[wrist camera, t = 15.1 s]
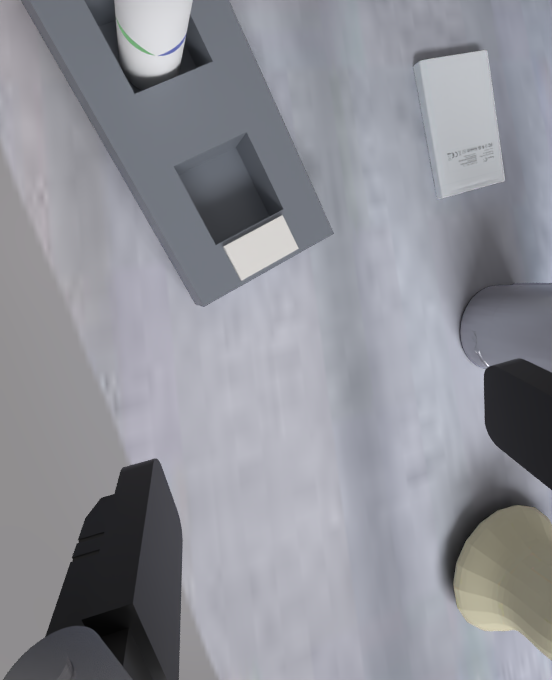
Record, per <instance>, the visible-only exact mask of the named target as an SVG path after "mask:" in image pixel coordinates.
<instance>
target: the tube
mask: <svg viewBox="0 0 552 680" xmlns="http://www.w3.org/2000/svg"><path fill="white" fill-rule="evenodd" d="M192 2H193V0H114V3H115V16H116V28H117V40H118V52H119V61H120V66H121V68H122V71H123V73H124V74H125V76H126V78H127V79H128V80H129V81H130V82H131V83H132V84H133V85H134V86H135V87H137V88H139V89H140V90H142V91H143V90H146V89H148V88H150V87H153V86H155V85H157V84H160V83H162V82H165V81H167V80H169V79H172V78H174V77H177V76H178V74H179V69H180V64H181V59H182V54H183V49H184V43H185V38H186V33H187V28H188V23H189V18H190V12H191V7H192Z"/></svg>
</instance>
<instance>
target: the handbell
mask: <svg viewBox="0 0 552 680" xmlns="http://www.w3.org/2000/svg"><path fill="white" fill-rule="evenodd" d="M453 586H454V592H455V598H456V604H457V607H458V609H459V610H460V612H461V613H462V615H463V617H464V618H465V620H466V621H467V622H468V623H470V624H472V625H474V626H476V627H477V628H479V629H481V630H484V631H509V630H516V631H519V632H520V633H521V634H523V635H524V636H525V637H526V638H527V639H528V640H529V641H530V642H531V643H532V644H533V645H534V646H535V647H537V648H538V649H539V650H540V651H541V652H542V653H543V654H544V655H545V656H547V657H548V658H549V659H550V660H552V524H551V522H550V520H549V519H548V518H547V517H546V516H545V515H544V514H542V513H541V512H540V511H538V510H537V509H536V508H535V507H528V506H521V505H514V506H511V507H507V508H504V509H501V510H497V511H496V512H495V513H493V514H492V515H490V516H489V517H488V518H486V519H485V520H484V521H482V522H481V523H480V524H479V525H478V526H477V528H476V529H475V530H474V531H473V533H472V534H471V535H470V536H469V538H468V539H467V540H466V542H465V544H464V546H463V549H462V551H461V553H460V556H459V558H458V560H457V562H456V569H455V575H454V582H453Z"/></svg>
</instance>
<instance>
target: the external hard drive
mask: <svg viewBox="0 0 552 680" xmlns="http://www.w3.org/2000/svg"><path fill="white" fill-rule="evenodd" d="M413 70H414V75H415V81H416V86H417V92H418V97H419V103H420V108H421V114H422V119H423V125H424V130H425V136H426V141H427V147H428V153H429V158H430V164H431V169H432V175H433V180H434V186H435V192H436V197H437V200H439V199H443V198H446V197H450V196H453V195H457V194H460V193H464V192H468V191H471V190H475V189H479V188H482V187H486V186H489V185H493V184H497V183H501V182H504V181H505V175H504V169H503V161H502V153H501V146H500V139H499V131H498V124H497V116H496V109H495V102H494V94H493V87H492V80H491V73H490V66H489V59H488V51H487V50H481V51H475V52H468V53H462V54H456V55H449V56H443V57H437V58H431V59H425V60H420V61H419V62H418V63H416V64H415V65H413Z"/></svg>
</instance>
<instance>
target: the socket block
mask: <svg viewBox="0 0 552 680" xmlns="http://www.w3.org/2000/svg"><path fill="white" fill-rule="evenodd" d="M21 1H22V3H23V5H24V6H25V8H26V10H27V12H28V13H29V15H30V17H31V19H32V20H33V22H34V24H35V26H36V27H37V29H38V31H39V33H40V34H41V36H42V38H43V40H44V41H45V43H46V45H47V46H48V48H49V50H50V52H51V53H52V55H53V57H54V59H55V60H56V62H57V64H58V66H59V67H60V69H61V71H62V73H63V74H64V76H65V78H66V80H67V81H68V83H69V85H70V87H71V88H72V90H73V92H74V93H75V95H76V97H77V99H78V100H79V102H80V104H81V106H82V107H83V109H84V111H85V113H86V114H87V116H88V118H89V120H90V121H91V123H92V125H93V127H94V128H95V130H96V132H97V133H98V135H99V137H100V139H101V140H102V142H103V144H104V146H105V147H106V149H107V151H108V153H109V154H110V156H111V158H112V160H113V161H114V163H115V165H116V167H117V168H118V170H119V172H120V174H121V175H122V177H123V179H124V180H125V182H126V184H127V186H128V187H129V189H130V191H131V193H132V194H133V196H134V198H135V200H136V201H137V203H138V205H139V207H140V208H141V210H142V212H143V214H144V215H145V217H146V219H147V220H148V222H149V224H150V226H151V227H152V229H153V231H154V233H155V234H156V236H157V238H158V240H159V241H160V243H161V245H162V247H163V248H164V250H165V252H166V254H167V255H168V257H169V259H170V261H171V262H172V264H173V266H174V267H175V269H176V271H177V273H178V274H179V276H180V278H181V280H182V281H183V283H184V285H185V287H186V288H187V290H188V292H189V294H190V295H191V297H192V299H193V301H194V302H195V304H196V305H200V306H203V307H204V306H206V305H208V304H210V303H212V302H213V301H215V300H217V299H219V298H220V297H222V296H224V295H226V294H227V293H229V292H231V291H233V290H235V289H236V288H238V287H240V286H242V285H243V284H245V283H247V282H249V281H251V280H252V279H254V278H256V277H258V276H259V275H261V274H263V273H265V272H267V271H268V270H270V269H272V268H274V267H275V266H277V265H279V264H281V263H282V262H284V261H286V260H288V259H290V258H291V257H293V256H295V255H297V254H298V253H300V252H302V251H304V250H306V249H307V248H309V247H311V246H313V245H314V244H316V243H318V242H320V241H322V240H323V239H325V238H327V237H329V236H330V235H332V234H334V232H333V230H332V228H331V226H330V224H329V221H328V219H327V217H326V215H325V213H324V210H323V208H322V206H321V204H320V201H319V199H318V197H317V195H316V193H315V190H314V188H313V186H312V184H311V182H310V179H309V177H308V175H307V173H306V170H305V168H304V166H303V164H302V162H301V159H300V157H299V155H298V153H297V150H296V148H295V146H294V144H293V142H292V139H291V137H290V135H289V133H288V131H287V128H286V126H285V124H284V122H283V119H282V117H281V115H280V113H279V111H278V108H277V106H276V104H275V102H274V100H273V97H272V95H271V93H270V91H269V88H268V86H267V84H266V82H265V80H264V77H263V75H262V73H261V71H260V68H259V66H258V64H257V62H256V60H255V57H254V55H253V53H252V51H251V49H250V46H249V44H248V42H247V40H246V37H245V35H244V33H243V31H242V29H241V26H240V24H239V22H238V20H237V18H236V15H235V13H234V11H233V9H232V6H231V4H230V2H229V0H193V2H192V7H191V12H190V18H189V23H188V28H187V33H186V38H185V43H184V49H183V54H182V59H181V64H180V69H179V74H178V76H177V77H174V78H172V79H169V80H167V81H165V82H162V83H160V84H157V85H155V86H153V87H150V88H148V89H146V90H143V91H142V90H140V89H139V88H137V87H135V86H134V85H133V84H132V83H131V82H130V81H129V80H128V79H127V78H126V76H125V74H124V73H123V71H122V68H121V66H120V61H119V52H118V40H117V28H116V16H115V3H114V0H21Z"/></svg>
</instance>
